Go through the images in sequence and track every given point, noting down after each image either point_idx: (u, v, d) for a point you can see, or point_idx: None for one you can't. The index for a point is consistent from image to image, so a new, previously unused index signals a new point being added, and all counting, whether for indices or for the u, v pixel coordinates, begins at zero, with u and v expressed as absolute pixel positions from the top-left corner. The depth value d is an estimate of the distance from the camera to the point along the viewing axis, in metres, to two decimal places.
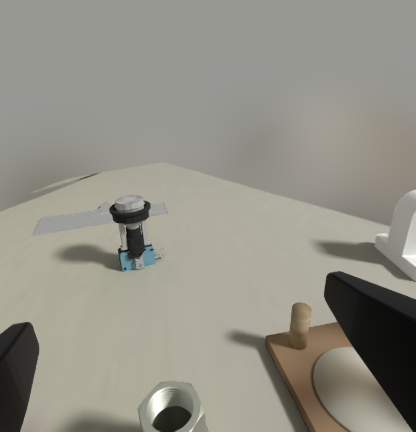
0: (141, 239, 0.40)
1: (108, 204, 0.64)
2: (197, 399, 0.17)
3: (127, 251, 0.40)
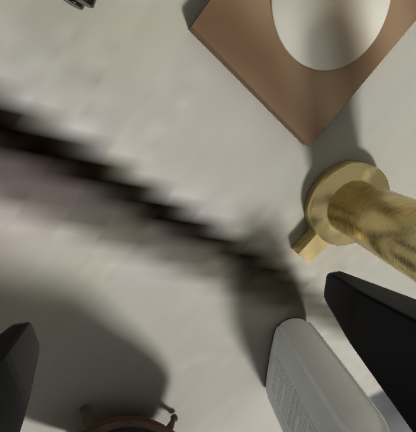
0: None
1: None
2: None
3: None
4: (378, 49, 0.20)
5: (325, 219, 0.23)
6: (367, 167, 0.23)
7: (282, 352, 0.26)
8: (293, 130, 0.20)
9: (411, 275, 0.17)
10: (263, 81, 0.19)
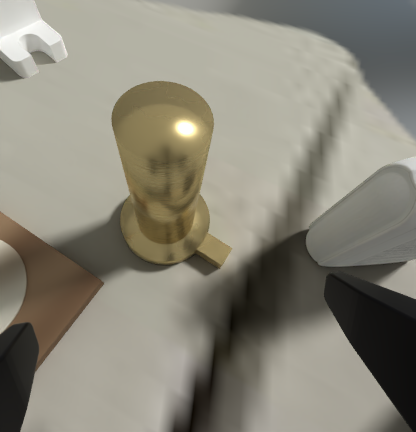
0: None
1: None
2: None
3: None
4: (12, 233, 0.21)
5: (180, 243, 0.22)
6: (124, 212, 0.23)
7: (345, 262, 0.22)
8: (84, 302, 0.20)
9: (191, 191, 0.15)
10: None
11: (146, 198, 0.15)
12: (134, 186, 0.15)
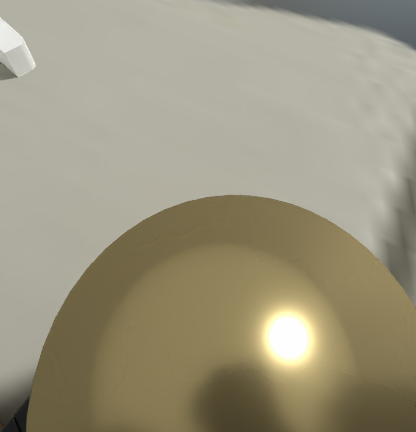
0: None
1: None
2: None
3: None
4: None
5: None
6: None
7: None
8: None
9: None
10: None
11: None
12: None
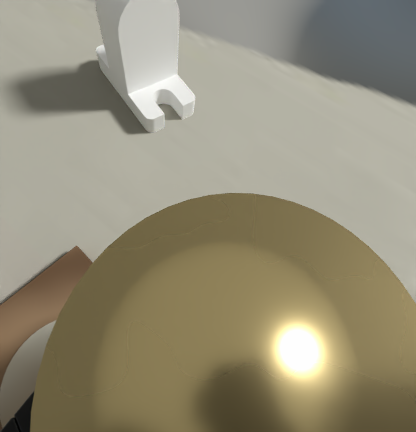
0: None
1: None
2: None
3: None
4: None
5: None
6: None
7: None
8: None
9: None
10: None
11: None
12: None
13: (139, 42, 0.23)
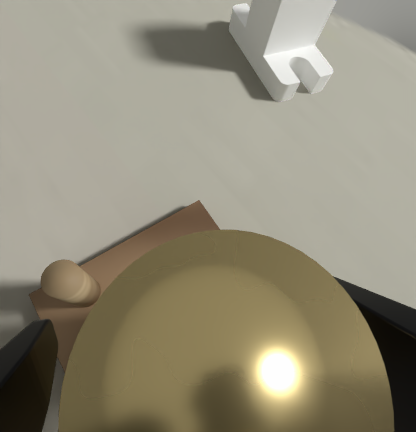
0: None
1: None
2: None
3: None
4: None
5: None
6: None
7: None
8: None
9: None
10: None
11: None
12: None
13: None
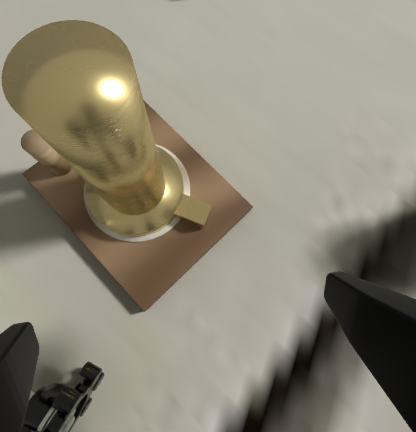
0: None
1: None
2: None
3: None
4: (179, 147, 0.23)
5: (155, 210, 0.21)
6: (88, 189, 0.21)
7: None
8: (236, 222, 0.22)
9: (137, 154, 0.13)
10: (192, 250, 0.21)
11: (87, 173, 0.13)
12: (68, 162, 0.13)
13: None
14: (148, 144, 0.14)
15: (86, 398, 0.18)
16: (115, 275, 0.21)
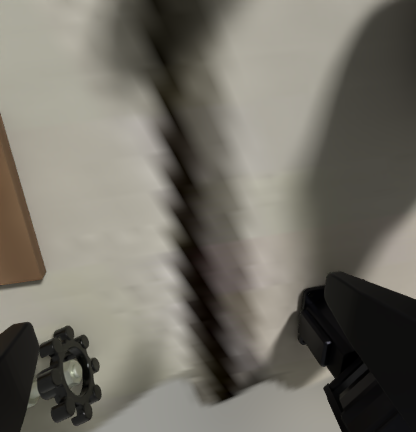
0: None
1: None
2: None
3: None
4: None
5: None
6: None
7: None
8: (1, 144, 0.17)
9: None
10: (7, 208, 0.18)
11: None
12: None
13: None
14: None
15: (73, 346, 0.22)
16: None
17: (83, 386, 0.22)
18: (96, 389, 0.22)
